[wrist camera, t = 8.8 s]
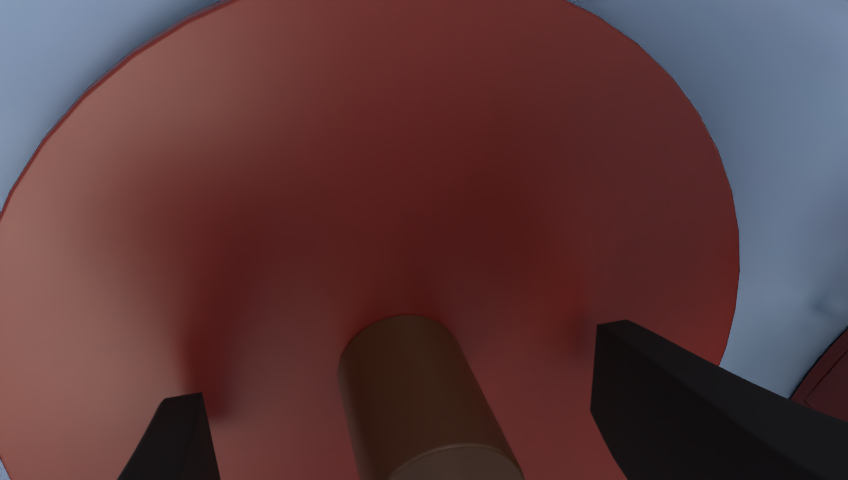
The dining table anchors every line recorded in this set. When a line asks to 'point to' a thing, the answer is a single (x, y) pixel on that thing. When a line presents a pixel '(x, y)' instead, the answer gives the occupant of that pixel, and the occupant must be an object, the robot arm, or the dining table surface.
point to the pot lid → (358, 242)
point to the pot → (828, 382)
